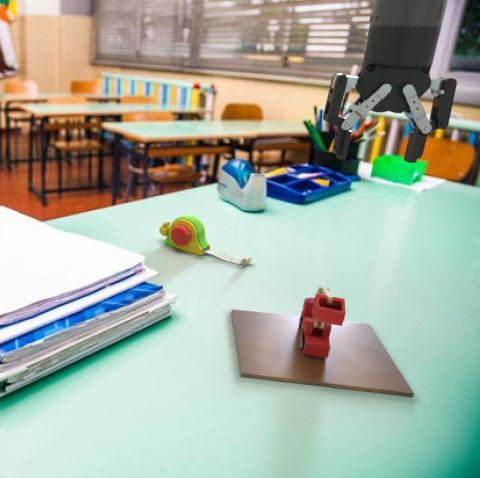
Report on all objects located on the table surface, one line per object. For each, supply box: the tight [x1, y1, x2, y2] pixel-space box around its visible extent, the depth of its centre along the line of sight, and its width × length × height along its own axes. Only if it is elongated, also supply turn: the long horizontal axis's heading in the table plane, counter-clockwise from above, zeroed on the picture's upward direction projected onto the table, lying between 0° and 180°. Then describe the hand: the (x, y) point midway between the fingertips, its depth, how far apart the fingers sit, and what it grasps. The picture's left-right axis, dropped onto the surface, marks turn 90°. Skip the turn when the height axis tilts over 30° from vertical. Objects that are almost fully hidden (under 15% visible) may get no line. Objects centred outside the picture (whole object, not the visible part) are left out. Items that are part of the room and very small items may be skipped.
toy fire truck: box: [299, 286, 347, 358], centre depth 64 cm, size 3×14×10 cm, turn 163°
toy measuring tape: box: [159, 214, 253, 266], centre depth 95 cm, size 6×19×7 cm, turn 55°
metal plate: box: [230, 308, 415, 397], centre depth 66 cm, size 20×16×1 cm
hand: (375, 160), depth 64 cm, fingers open, 8 cm apart
